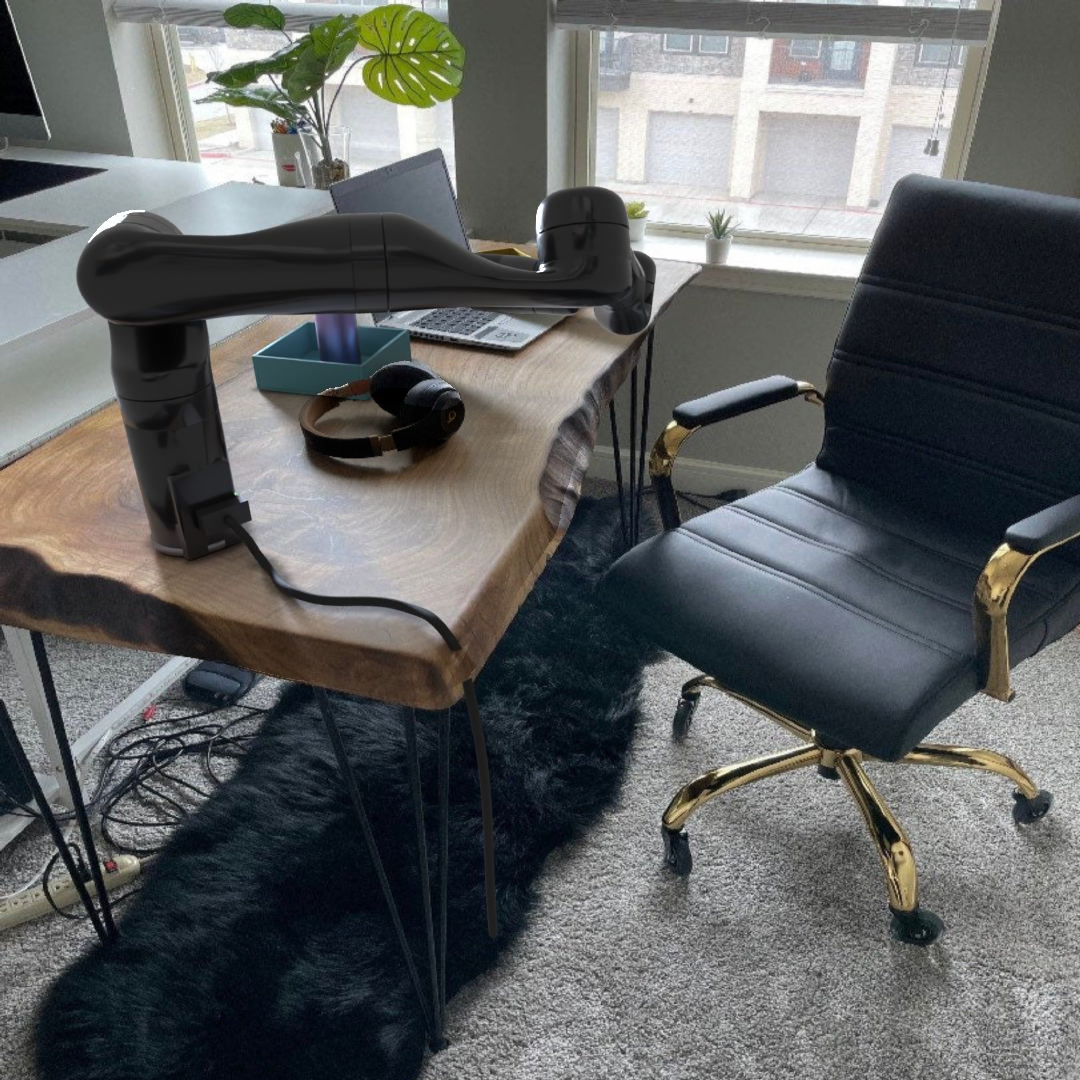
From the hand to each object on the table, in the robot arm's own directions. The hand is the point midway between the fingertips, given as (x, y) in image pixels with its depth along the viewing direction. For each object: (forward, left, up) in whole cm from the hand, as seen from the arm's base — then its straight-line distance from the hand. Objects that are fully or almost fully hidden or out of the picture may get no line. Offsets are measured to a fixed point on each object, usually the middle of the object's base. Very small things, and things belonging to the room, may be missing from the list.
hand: (394, 276), depth 137 cm
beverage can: (+9, +5, -15) cm, 18 cm away
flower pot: (+18, -33, -16) cm, 41 cm away
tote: (+9, +6, -15) cm, 19 cm away
